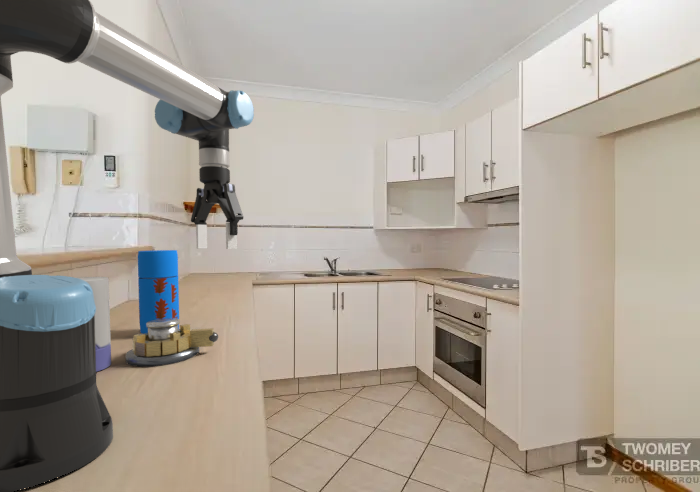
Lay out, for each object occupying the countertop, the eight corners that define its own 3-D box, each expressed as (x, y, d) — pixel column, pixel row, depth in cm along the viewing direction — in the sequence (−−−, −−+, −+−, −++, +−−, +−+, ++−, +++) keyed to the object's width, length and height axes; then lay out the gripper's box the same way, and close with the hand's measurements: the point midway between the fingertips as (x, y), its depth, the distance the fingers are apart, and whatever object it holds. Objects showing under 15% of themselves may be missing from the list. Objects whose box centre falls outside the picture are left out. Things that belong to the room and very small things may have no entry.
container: (98, 358, 86) (95, 275, 86) (120, 365, 81) (117, 277, 81) (46, 372, 78) (43, 280, 77) (67, 381, 73) (64, 282, 72)
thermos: (142, 330, 113) (139, 250, 113) (179, 326, 118) (177, 249, 117) (138, 338, 103) (135, 251, 103) (179, 334, 108) (177, 250, 107)
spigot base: (160, 370, 78) (159, 332, 78) (109, 362, 84) (108, 326, 84) (214, 348, 93) (214, 316, 93) (169, 342, 99) (168, 312, 99)
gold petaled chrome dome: (123, 357, 81) (122, 338, 81) (146, 341, 94) (146, 324, 94) (212, 352, 84) (211, 333, 84) (223, 337, 96) (223, 321, 96)
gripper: (256, 163, 90) (258, 248, 91) (201, 175, 105) (203, 247, 106) (230, 158, 84) (232, 249, 85) (176, 171, 99) (178, 248, 100)
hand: (216, 248), depth 95 cm, fingers open, 13 cm apart
